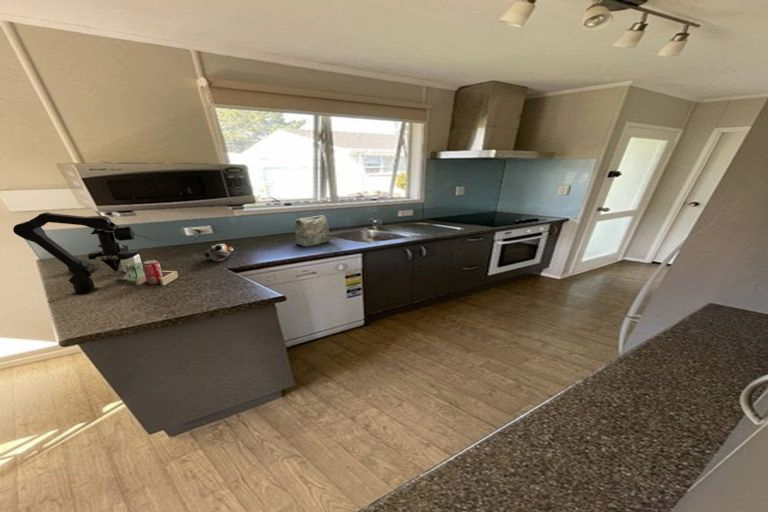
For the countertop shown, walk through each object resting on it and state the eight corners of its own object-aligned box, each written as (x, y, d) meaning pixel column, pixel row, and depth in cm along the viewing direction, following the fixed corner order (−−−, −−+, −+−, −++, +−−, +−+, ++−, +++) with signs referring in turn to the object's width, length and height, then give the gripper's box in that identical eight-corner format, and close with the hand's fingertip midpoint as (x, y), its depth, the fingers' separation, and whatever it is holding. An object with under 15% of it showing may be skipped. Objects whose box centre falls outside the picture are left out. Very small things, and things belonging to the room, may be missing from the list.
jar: (122, 274, 164) (116, 254, 161) (124, 269, 171) (119, 250, 167) (142, 271, 169) (137, 251, 165) (143, 267, 176) (139, 248, 172)
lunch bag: (321, 238, 248) (320, 213, 241) (332, 242, 236) (331, 216, 229) (293, 243, 231) (290, 216, 225) (304, 248, 219) (301, 220, 212)
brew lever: (127, 283, 150) (124, 280, 148) (117, 282, 150) (114, 279, 148) (141, 266, 158) (139, 263, 157) (132, 266, 158) (129, 263, 157)
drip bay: (163, 285, 150) (162, 278, 149) (136, 285, 150) (134, 278, 149) (178, 277, 161) (176, 271, 160) (152, 277, 161) (150, 270, 160)
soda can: (161, 278, 159) (156, 258, 155) (165, 282, 155) (160, 261, 151) (145, 282, 154) (140, 261, 150) (149, 286, 149) (143, 264, 146)
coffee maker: (137, 283, 153) (133, 267, 150) (118, 282, 153) (114, 267, 150) (154, 274, 165) (150, 260, 162) (137, 274, 164) (133, 260, 162)
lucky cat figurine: (227, 254, 200) (232, 238, 195) (230, 265, 193) (236, 249, 188) (202, 252, 190) (207, 236, 184) (205, 264, 183) (211, 247, 177)
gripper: (139, 237, 149) (147, 265, 154) (103, 237, 149) (112, 265, 154) (121, 243, 139) (129, 273, 143) (82, 243, 138) (92, 273, 143)
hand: (116, 271), depth 146 cm, fingers closed
